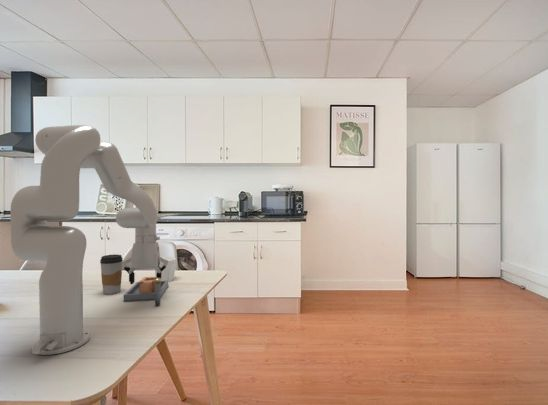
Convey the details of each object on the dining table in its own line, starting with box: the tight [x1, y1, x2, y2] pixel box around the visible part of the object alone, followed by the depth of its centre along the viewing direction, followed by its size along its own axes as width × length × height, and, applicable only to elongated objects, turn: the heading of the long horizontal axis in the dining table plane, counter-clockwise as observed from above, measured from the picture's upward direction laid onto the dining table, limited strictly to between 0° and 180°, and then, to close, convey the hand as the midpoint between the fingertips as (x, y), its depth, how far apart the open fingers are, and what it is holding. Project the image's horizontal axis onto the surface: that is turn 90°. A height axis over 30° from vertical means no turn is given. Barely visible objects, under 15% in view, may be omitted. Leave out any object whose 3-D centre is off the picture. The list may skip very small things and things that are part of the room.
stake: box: [154, 278, 161, 307], centre depth 110 cm, size 3×3×10 cm
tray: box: [123, 281, 169, 303], centre depth 124 cm, size 18×13×2 cm
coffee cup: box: [99, 254, 124, 296], centre depth 125 cm, size 8×8×15 cm
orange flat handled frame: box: [138, 276, 161, 294], centre depth 124 cm, size 7×13×4 cm, turn 8°
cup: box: [154, 256, 177, 283], centre depth 144 cm, size 10×10×10 cm
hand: (145, 283), depth 119 cm, fingers open, 9 cm apart
